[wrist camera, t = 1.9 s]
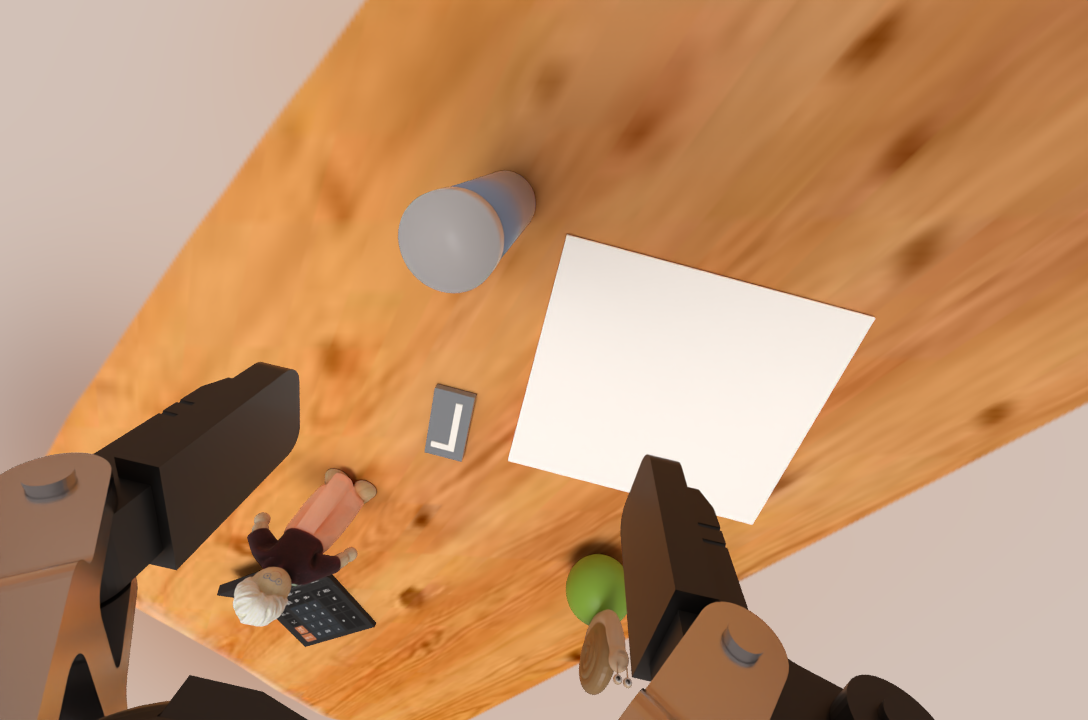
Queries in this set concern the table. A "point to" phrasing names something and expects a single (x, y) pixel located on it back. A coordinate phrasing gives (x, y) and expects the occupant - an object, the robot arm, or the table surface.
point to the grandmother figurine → (299, 548)
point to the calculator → (317, 610)
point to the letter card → (449, 422)
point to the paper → (677, 375)
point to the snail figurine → (599, 620)
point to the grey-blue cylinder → (464, 230)
